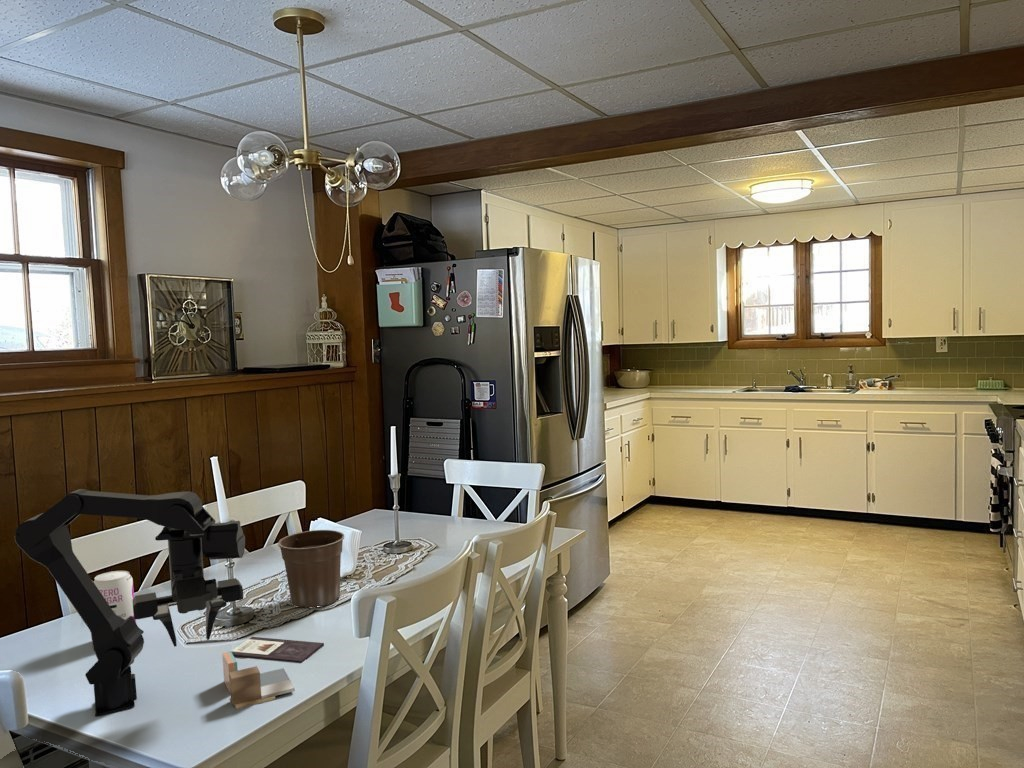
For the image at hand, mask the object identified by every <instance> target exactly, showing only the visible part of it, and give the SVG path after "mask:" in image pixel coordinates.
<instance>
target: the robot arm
mask: <svg viewBox="0 0 1024 768" xmlns="http://www.w3.org/2000/svg"><path fill="white" fill-rule="evenodd" d="M80 515H87V516H88V515H91V516H100V517H101V516H103V517H113V518H114V517H115V518H127V519H128V518H129V519H138V520H139V519H142V520H146V521H149V522H152V523H153V524H155V525H157V526H162V530H161V532H159V534H157V536H155V537H154V539H155V541H159V542H160V541H167V547H168V548H167V550H168V560H169V575H170V579H169V580H170V591H171V594H169V595H165V596H159V597H157V593H156V592H155V591H154V592H149V593H143V594H138V595H134V598H133V600H132V602H133V613H134V618H133V617H132V616H129V617H128V618H127V619H126V620H125V619H123V618H121V617H119V616H117V615H116V614H115V613H114V612H113V610H112V609H111V607H110V606H109V604H108V603H107V601H106V600H105V598H104V597H103V595H102V594H101V593H100V591H99V590H98V588H97V587H96V585H95V584H94V581H93V579H92V578H91V577H90V575H89V573H88V572H87V570H86V569H85V568H84V566H83V564H82V563H81V562H80V560H79V559H78V557H77V556H76V554H75V553H74V550H73V544H72V537H71V533H70V531H69V529H68V527H67V526H68V525H69V524H71V523H72V522H73V521H74V520H76V519H77V518H78V516H80ZM14 542H15V543H16V545H17V547H19V548H20V550H22V551H23V552H24V554H26V556H27V557H28V558H30V559H31V560H33V561H35V562H36V563H38V564H40V565H42V566H44V567H45V568H46V569H47V570H48V572H49V573H50V575H51V576H52V577H53V579H54V580H55V582H56V583H57V585H58V587H59V588H60V589H61V590H62V592H63V593H64V595H65V597H66V598H67V600H68V601H69V602H70V603H71V605H72V606H73V608H74V609H75V611H76V612H77V614H78V615H79V617H80V618H81V619H82V621H83V623H84V624H85V625H86V627H87V628H88V630H89V631H90V636H91V643H92V650H93V652H94V654H95V656H96V659H97V661H96V662H95V663H94V664H93V665H92V666H91V667H90V668H89V669H88V671H86V673H85V677H86V680H87V682H88V684H89V685H93V694H94V717H99V716H104V715H107V714H111V713H117V712H120V711H125V710H130V709H133V708H134V707H136V706H135V705H136V704H135V701H136V700H137V699H138V697H137V683H136V673H132V668H131V667H132V666H131V665H132V664H134V662H135V659H136V658H137V657H138V656H139V654H140V653H141V652H142V650H143V648H144V644H145V640H144V637H143V634H144V633H145V632H144V630H143V629H141V628H140V627H139V626H138V624H137V621H136V622H135V620H134V619H136V620H143V619H146V618H152V620H154V621H158V620H159V621H160V622H161V623H162V625H163V626H164V628H165V629H166V632H167V633H168V636H169V639H170V641H171V642H172V645H173V647H175V648H176V647H177V644H178V643H177V637H176V632H175V628H174V627H175V626H174V623H173V619H172V615H171V611H170V607H172V606H177V612H178V613H179V614H183V615H184V614H187V613H189V612H194V611H198V612H199V611H203V610H205V609H206V610H205V611H206V612H205V613H206V614H205V617H206V618H205V637H206V640H207V641H208V640H209V641H210V637H211V635H212V631H213V627H214V624H215V621H216V618H217V616H218V613H219V612H220V610H221V609H222V608H225V607H227V605H228V604H227V603H231V602H232V603H233V602H237V601H241V600H243V599H244V588H243V585H242V583H241V582H240V580H239V579H237V578H235V577H234V578H229V579H222V580H218V581H217V580H216V578H211V579H205V574H204V560H203V555H204V557H205V558H208V560H210V561H214V560H215V561H216V560H228V559H230V560H231V559H242V558H243V557H244V554H245V549H246V536H245V534H244V529H243V528H242V525H241V521H240V520H233V521H229V522H216V520H215V518H214V517H212V515H211V514H210V513H209V512H208V510H206V508H205V507H204V506H203V502H202V499H201V498H200V497H199V496H198V494H197V493H195V492H193V491H176V492H174V491H173V492H168V493H162V494H154V495H147V494H135V493H121V492H111V491H110V492H108V491H96V490H95V491H94V490H88V489H85V488H78V489H76V490H74V491H72V492H69V493H68V494H65V496H63V497H62V499H61V500H59V501H58V502H57V503H55V504H54V505H53V506H51V507H50V508H49V509H47V510H46V511H45V512H42V513H39V514H38V515H34V516H33V517H31V518H29V519H27V520H25V521H23V522H22V523H20V524H19V525H18V526H17V528H16V530H15V535H14Z"/></svg>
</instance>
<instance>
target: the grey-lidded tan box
mask: <svg viewBox="0 0 1024 768" xmlns="http://www.w3.org/2000/svg"><path fill="white" fill-rule="evenodd" d="M259 669H260V668H259V667H258V666H257V665H256V666H251V667H248V668H247V667H246V668H244V669H238V671H234V672H229V679H230V692H229V694H230V700H231V703H232V705H233V706H235V705H236V704H240V703H244V702H248V701H252V700H256V699H260V698H262V699H265V698H269V697H273V696H275V697H276V696H279V695H284V694H288V693H292V692H295V691H296V690H295V685H294V683H292V680H291V679H290V680H286V681H282V682H278V683H274V684H270V685H266V686H262V687H261V682H260V674H261V672H260V670H259Z"/></svg>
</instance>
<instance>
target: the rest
mask: <svg viewBox="0 0 1024 768" xmlns="http://www.w3.org/2000/svg"><path fill="white" fill-rule="evenodd" d="M272 700H276V696H273V697H269V698H265V699H262V698H260V699H256V700H252V701H248V702H244V703H240V704H236V705H234V707H235V709H236V710H237V709H241V707H242V708H245V707H249V706H253V705H257V704H260V703H265V702H269V701H272Z"/></svg>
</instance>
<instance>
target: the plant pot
mask: <svg viewBox="0 0 1024 768" xmlns="http://www.w3.org/2000/svg"><path fill="white" fill-rule="evenodd" d="M344 539H345V534H344V533H343V532H341V531H338V530H334V529H333V530H332V529H316V530H314V529H313V530H306V531H302V532H301V531H300V532H296V533H293V534H290V535H287V536H284V537H282V538H281V539H279V541H278V542H277V546H278V547H279V548H280V554H281V557H282V560H283V562H284V568H285V572H286V578H287V580H286V581H287V584H288V591H289V596H290V602H291V605H292V604H293V605H292V606H294V605H295V606H298V607H297V608H299V607H302V608H304V607H305V608H307V607H316V608H318V607H317V606H323V607H325V606H324V605H326V606H329V605H332V604H333V603H335V602H336V601H337V600H339V599H340V597H341V567H342V566H341V563H342V561H341V560H342V553H343V540H344ZM328 604H329V605H328ZM295 606H294V607H295Z"/></svg>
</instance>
